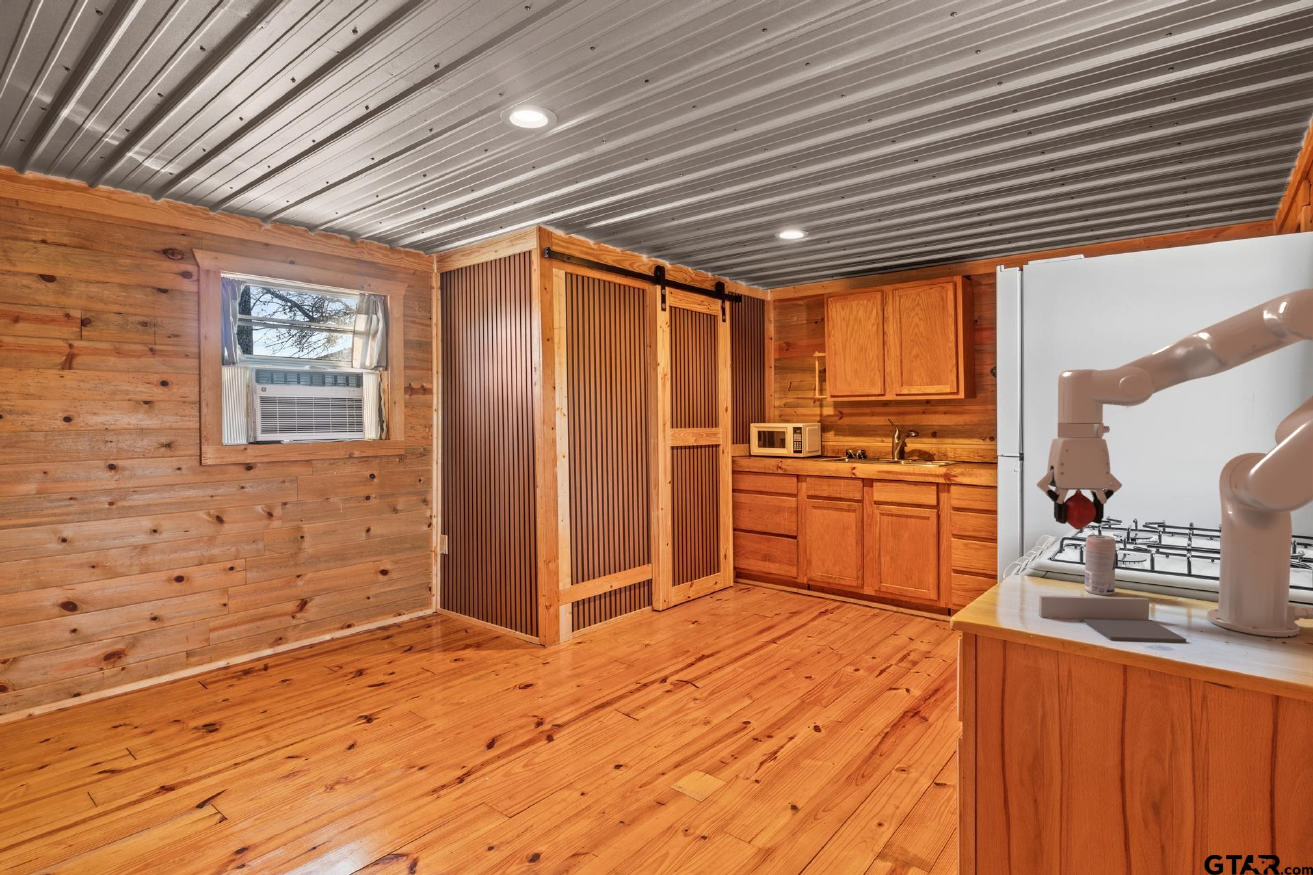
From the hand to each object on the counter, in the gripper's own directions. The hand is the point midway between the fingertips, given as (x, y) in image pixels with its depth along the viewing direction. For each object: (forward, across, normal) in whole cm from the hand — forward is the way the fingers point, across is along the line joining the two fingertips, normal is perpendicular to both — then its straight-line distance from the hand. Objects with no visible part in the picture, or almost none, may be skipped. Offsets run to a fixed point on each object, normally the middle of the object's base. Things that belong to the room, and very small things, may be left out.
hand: (1078, 521), depth 133 cm
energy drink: (+18, -10, -11) cm, 23 cm away
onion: (+2, 0, 0) cm, 2 cm away
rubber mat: (+17, -3, +14) cm, 22 cm away
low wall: (+17, 0, +7) cm, 19 cm away
